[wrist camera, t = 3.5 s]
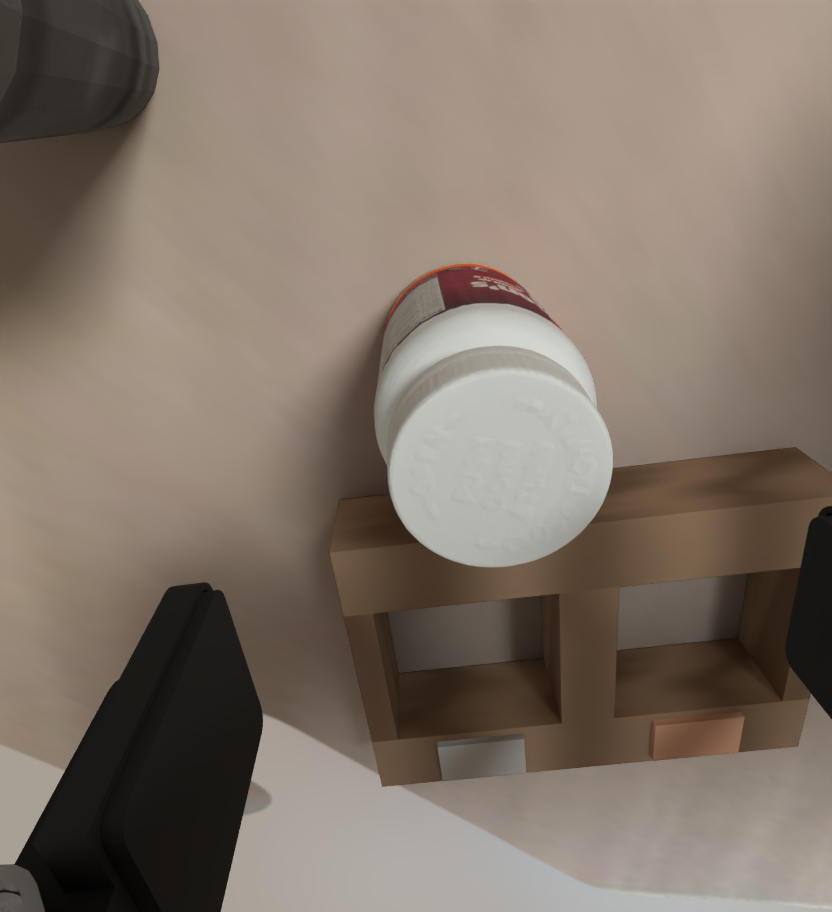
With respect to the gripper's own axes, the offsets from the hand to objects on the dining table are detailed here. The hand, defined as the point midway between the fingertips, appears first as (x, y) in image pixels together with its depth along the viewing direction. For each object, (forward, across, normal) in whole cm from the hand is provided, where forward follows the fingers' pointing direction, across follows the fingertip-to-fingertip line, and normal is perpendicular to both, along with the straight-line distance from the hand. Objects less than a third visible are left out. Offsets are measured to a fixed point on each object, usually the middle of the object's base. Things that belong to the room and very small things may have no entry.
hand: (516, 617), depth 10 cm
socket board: (+16, -5, +13) cm, 21 cm away
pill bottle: (+16, -1, 0) cm, 16 cm away
